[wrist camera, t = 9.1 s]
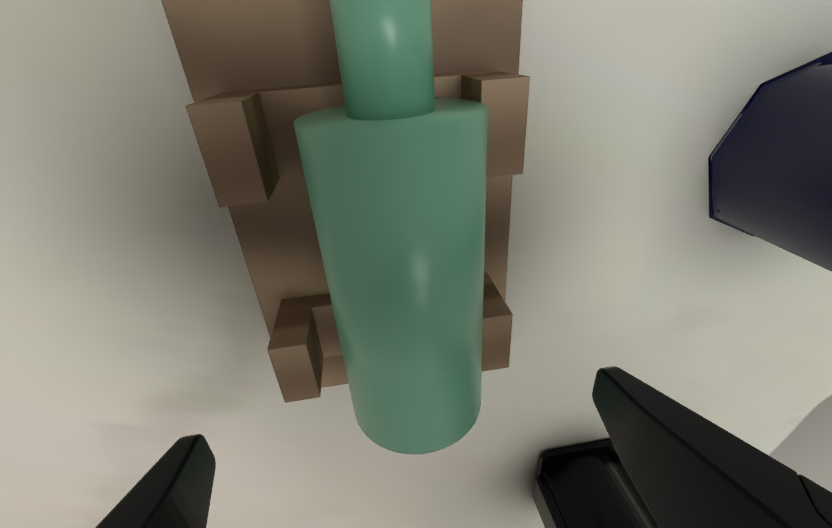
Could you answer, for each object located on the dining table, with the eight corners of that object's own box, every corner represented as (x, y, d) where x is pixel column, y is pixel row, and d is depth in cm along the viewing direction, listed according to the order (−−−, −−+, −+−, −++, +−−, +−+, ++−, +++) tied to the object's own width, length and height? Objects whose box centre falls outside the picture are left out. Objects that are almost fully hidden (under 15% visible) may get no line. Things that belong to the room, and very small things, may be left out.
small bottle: (448, 340, 21) (505, 424, 16) (342, 373, 19) (373, 476, 14) (435, -42, 13) (543, -96, 8) (252, -39, 11) (255, -105, 6)
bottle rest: (171, -5, 13) (96, -25, 9) (513, -25, 14) (574, -51, 10) (290, 379, 22) (278, 450, 18) (495, 347, 23) (524, 408, 19)
